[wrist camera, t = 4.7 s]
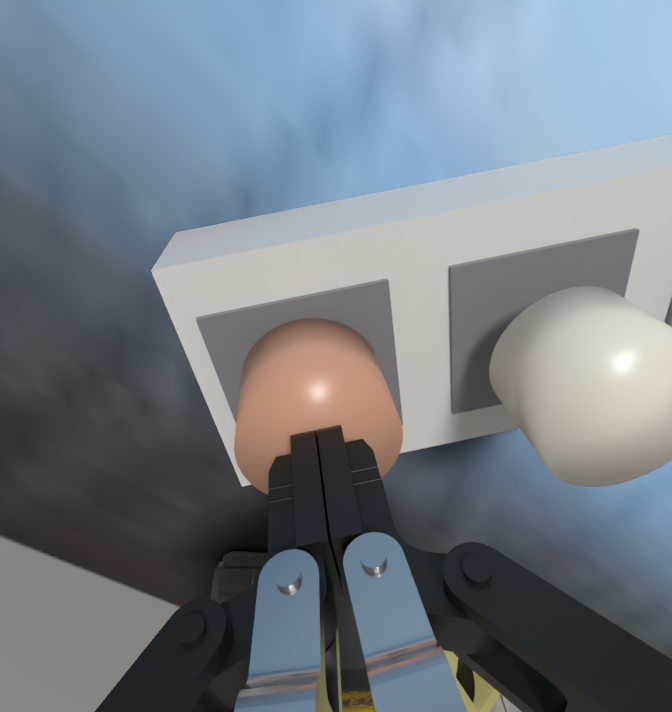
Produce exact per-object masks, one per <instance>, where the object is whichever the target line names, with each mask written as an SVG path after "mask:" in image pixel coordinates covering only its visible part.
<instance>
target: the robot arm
mask: <svg viewBox="0 0 672 712" xmlns="http://www.w3.org/2000/svg"><path fill="white" fill-rule="evenodd" d="M317 435H318V438H317ZM290 440H291V454H287V455H283V456H278V457H276V458H275V460H274V462H273V464H272V466H271V468H270V470H269V472H268V489H269V491H268V502H269V505H268V555H267V561H266V564H265V566H264V567H263V569H262V571H261V573H260V576H259V577H258V579H257V580H256V581H255V582H254V583H253V584H252V585H251V586H250V587H248V588H247V589H246V590H244V591H243V592H241V593H239V594H237V595H236V596H234V597H232V598H230V599H229V600H227V601H225V602H223V603H222V604H219V603H218V602H216V601H214V600H212V599H208V598H200V599H195V600H192V601H190V602H188V603H186V604H185V605H183V606H182V607H180V608H179V609H178V610H177V611H176V612H175V613H174V614H173V615H172V616H171V617H170V619H169V620H168V621H167V623H166V624H165V625H164V626H163V628H162V629H161V630H160V631H159V633H158V634H157V635H156V636H155V637H154V639H153V640H152V641H151V642H150V644H149V645H148V646H147V647H146V649H145V650H144V651H143V652H142V653H141V655H140V656H139V657H138V659H137V660H136V661H135V662H134V663H133V665H132V666H131V667H130V669H129V670H128V671H127V672H126V673H125V675H124V676H123V677H122V678H121V680H120V681H119V682H118V683H117V685H116V686H115V687H114V688H113V690H112V691H111V692H110V693H109V694H108V696H107V697H106V698H105V700H104V701H103V702H102V703H101V705H100V706H99V707H98V708H97V709H96V711H95V712H342V693H341V673H340V654H339V634H338V627H337V625H338V622H337V612H336V604H335V597H338V596H343V595H344V593H343V586H342V581H343V584H344V588H345V591H346V594H350V598H351V602H352V607H353V611H354V615H355V620H356V624H357V628H358V633H359V637H360V641H361V646H362V650H363V655H364V659H365V664H366V670H367V675H368V679H369V684H370V688H371V693H372V697H373V701H374V706H375V710H376V712H467V710H466V707H465V705H464V702H463V699H462V697H461V694H460V691H459V689H458V686H457V683H456V681H455V678H454V675H453V673H452V670H451V667H450V665H449V662H448V660H447V657H446V655H445V653H444V651H443V650H445V651H451V652H454V654H455V655H456V656H457V657H458V658H459V659H460V660H461V661H462V662H464V663H465V664H466V665H467V666H468V667H470V668H471V669H472V670H473V671H474V672H476V673H477V674H478V675H479V676H480V677H481V678H483V679H484V680H485V681H486V682H487V683H489V684H490V685H491V686H492V687H493V688H494V689H496V690H497V691H498V692H499V693H500V694H502V695H503V696H504V697H505V698H506V699H507V700H509V701H510V702H511V703H512V704H513V705H515V706H516V707H517V708H518V709H519V710H520V711H522V712H672V659H670V658H668V657H667V656H665V655H664V654H662V653H660V652H659V651H657V650H656V649H654V648H652V647H651V646H649V645H648V644H646V643H644V642H643V641H641V640H640V639H638V638H636V637H635V636H633V635H631V634H630V633H628V632H627V631H625V630H623V629H622V628H620V627H619V626H617V625H615V624H614V623H612V622H611V621H609V620H607V619H606V618H604V617H603V616H601V615H599V614H598V613H596V612H595V611H593V610H591V609H590V608H588V607H586V606H585V605H583V604H582V603H580V602H578V601H577V600H575V599H574V598H572V597H570V596H569V595H567V594H566V593H564V592H562V591H561V590H559V589H558V588H556V587H554V586H553V585H551V584H550V583H548V582H546V581H545V580H543V579H541V578H540V577H538V576H537V575H535V574H533V573H532V572H530V571H529V570H527V569H525V568H524V567H522V566H521V565H519V564H517V563H516V562H514V561H513V560H511V559H509V558H508V557H506V556H505V555H503V554H501V553H500V552H498V551H496V550H495V549H493V548H491V547H489V546H487V545H485V544H481V543H476V542H468V543H463V544H460V545H458V546H456V547H454V548H453V549H452V550H451V551H450V552H449V553H448V554H443V553H434V552H426V551H421V550H418V549H415V548H413V547H411V546H410V545H408V544H407V543H406V542H404V541H403V540H402V539H401V537H400V536H399V535H398V533H397V531H396V529H395V527H394V523H393V520H392V516H391V512H390V509H389V505H388V502H387V498H386V494H385V491H384V487H383V483H382V480H381V476H380V473H379V469H378V465H377V462H376V458H375V454H374V451H373V449H372V448H371V447H370V446H369V445H368V444H367V443H366V442H365V441H364V440H363V439H359V440H354V441H349V442H345V441H344V436H343V431H342V426H341V425H337V426H332V427H327V428H322V429H317V434H316V431H315V430H313V431H308V432H304V433H299V434H294V435H291V437H290ZM341 577H342V579H341Z"/></svg>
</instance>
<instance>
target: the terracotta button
mask: <svg viewBox="0 0 672 712" xmlns="http://www.w3.org/2000/svg"><path fill="white" fill-rule="evenodd" d="M337 425H341V426H342V431H343V436H344V441H345V442H349V441H354V440H359V439H363V440H364V441H365V442H366V443H367V444H368V445H369V446H370V447H371V448H372V449H373V451H374V454H375V458H376V462H377V465H378V469H379V473H380V476H381V478H382V477H383V476H385V474H386V473H387V472H388V471H389V470H390V469H391V467H392V466H393V464H394V463H395V461H396V459H397V457H398V456H399V453H400V450H401V447H402V441H403V429H402V424H401V420H400V418H399V415H398V413H397V410H396V407H395V405H394V402H393V399H392V397H391V394H390V392H389V389H388V386H387V384H386V381H385V378H384V376H383V373H382V371H381V368H380V365H379V363H378V360H377V357H376V355H375V352H374V350H373V349H372V347H371V345H370V344H369V343H368V341H367V340H366V339H365V338H364V337H363V336H362V335H361V334H360V333H358V332H357V331H355V330H354V329H353V328H351V327H349V326H347V325H345V324H342V323H339V322H336V321H332V320H328V319H319V318H310V319H300V320H295V321H291V322H288V323H285V324H283V325H280V326H278V327H276V328H274V329H272V330H270V331H269V332H268V333H266V334H265V335H263V336H262V337H261V338H260V339H259V340H258V341H257V342H256V343H255V344H254V346H253V347H252V348H251V349H250V351H249V353H248V354H247V356H246V359H245V361H244V364H243V368H242V374H241V383H240V393H239V403H238V412H237V422H236V431H235V441H234V453H235V459H236V462H237V465H238V467H239V469H240V471H241V473H242V474H243V475H244V477H245V478H246V479H247V480H248V481H249V482H250V483H251V484H252V485H253V486H254V487H256V488H257V489H258V490H260V491H262V492H263V493H265V494H267V495H268V491H269V489H268V472H269V470H270V468H271V466H272V464H273V462H274V460H275V458H276V457H278V456H283V455H287V454H291V440H290V437H291V435H294V434H299V433H304V432H308V431H313V430H315V431H316V434H317V429H322V428H327V427H332V426H337ZM317 438H318V435H317Z"/></svg>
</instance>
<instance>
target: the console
mask: <svg viewBox="0 0 672 712" xmlns="http://www.w3.org/2000/svg"><path fill="white" fill-rule="evenodd" d="M151 272H152V274H153V277H154V279H155V281H156V284H157V286H158V288H159V291H160V293H161V296H162V298H163V300H164V303H165V305H166V307H167V310H168V312H169V315H170V317H171V319H172V322H173V324H174V326H175V329H176V331H177V334H178V336H179V338H180V341H181V343H182V345H183V348H184V350H185V353H186V355H187V357H188V360H189V362H190V364H191V367H192V369H193V372H194V374H195V376H196V379H197V381H198V383H199V386H200V388H201V391H202V393H203V395H204V398H205V400H206V402H207V405H208V407H209V410H210V412H211V414H212V417H213V419H214V421H215V424H216V426H217V428H218V431H219V433H220V436H221V438H222V440H223V443H224V445H225V447H226V450H227V452H228V455H229V457H230V459H231V462H232V464H233V466H234V469H235V471H236V474H237V476H238V478H239V481H240V483H241V485H242V486H247V485H252V484H251V483H250V482H249V481H248V480H247V479H246V478H245V477H244V475H243V474H242V473H241V471H240V469H239V467H238V465H237V462H236V459H235V453H234V441H235V431H236V422H237V412H238V403H239V393H240V383H241V374H242V368H243V364H244V361H245V359H246V356H247V354H248V353H249V351H250V349H251V348H252V347H253V346H254V344H255V343H256V342H257V341H258V340H259V339H260V338H261V337H262V336H263V335H265V334H266V333H268V332H269V331H270V330H272V329H274V328H276V327H278V326H280V325H283V324H285V323H288V322H291V321H295V320H300V319H310V318H319V319H328V320H332V321H336V322H339V323H342V324H345V325H347V326H349V327H351V328H353V329H354V330H355V331H357V332H358V333H360V334H361V335H362V336H363V337H364V338H365V339H366V340H367V341H368V343H369V344H370V345H371V347H372V349H373V350H374V352H375V355H376V357H377V360H378V363H379V365H380V368H381V371H382V373H383V376H384V378H385V381H386V384H387V386H388V389H389V392H390V394H391V397H392V399H393V402H394V405H395V407H396V410H397V413H398V415H399V418H400V420H401V424H402V429H403V441H402V447H401V450H400V453H404V452H409V451H414V450H418V449H423V448H428V447H433V446H437V445H442V444H447V443H452V442H456V441H461V440H466V439H471V438H476V437H480V436H485V435H490V434H495V433H499V432H504V431H509V430H514V429H518V428H520V427H519V426H518V424H517V423H516V422H515V420H514V419H513V418H512V416H511V415H510V413H509V412H508V411H507V409H506V408H505V406H504V405H503V404H502V402H501V401H500V399H499V398H498V397H497V395H496V394H495V392H494V390H493V388H492V386H491V382H490V377H489V367H490V360H491V356H492V353H493V350H494V348H495V346H496V344H497V342H498V340H499V338H500V336H501V335H502V334H503V332H504V331H505V329H506V328H507V327H508V326H509V325H510V323H511V322H512V321H513V320H514V319H515V318H516V317H517V316H518V315H519V314H520V313H521V312H523V311H524V310H525V309H527V308H528V307H529V306H530V305H532V304H534V303H535V302H537V301H538V300H540V299H542V298H544V297H546V296H548V295H550V294H552V293H555V292H558V291H560V290H564V289H567V288H571V287H578V286H596V287H602V288H606V289H609V290H611V291H613V292H615V293H617V294H619V295H620V296H622V297H623V298H625V299H627V300H628V301H630V302H632V303H633V304H635V305H637V306H638V307H640V308H641V309H643V310H645V311H646V312H648V313H650V314H651V315H653V316H655V317H656V318H658V319H659V320H661V321H663V322H664V323H666V324H668V325H669V326H671V327H672V134H669V135H664V136H659V137H654V138H649V139H644V140H639V141H634V142H629V143H624V144H619V145H614V146H609V147H604V148H599V149H594V150H589V151H584V152H579V153H574V154H568V155H563V156H558V157H553V158H548V159H543V160H538V161H533V162H528V163H523V164H518V165H513V166H508V167H503V168H498V169H493V170H488V171H483V172H478V173H473V174H468V175H463V176H458V177H453V178H448V179H443V180H438V181H432V182H427V183H422V184H417V185H412V186H407V187H402V188H397V189H392V190H387V191H382V192H377V193H372V194H367V195H362V196H357V197H352V198H347V199H342V200H337V201H332V202H327V203H322V204H317V205H312V206H307V207H301V208H296V209H291V210H286V211H281V212H276V213H271V214H266V215H261V216H256V217H251V218H246V219H241V220H236V221H231V222H226V223H221V224H216V225H211V226H206V227H201V228H196V229H191V230H186V231H181V232H176V233H175V234H174V236H173V237H172V239H171V240H170V242H169V243H168V245H167V247H166V248H165V250H164V251H163V253H162V254H161V256H160V257H159V259H158V261H157V262H156V264H155V265H154V267H153V268H152V270H151Z"/></svg>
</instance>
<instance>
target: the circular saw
mask: <svg viewBox="0 0 672 712" xmlns="http://www.w3.org/2000/svg"><path fill="white" fill-rule="evenodd" d="M267 555H268V553H261V552H241V551H232V552H229V553H227V554H225V555H224V557H223V560H222V562H219V565H218V566H217V567H216V569H215V570H214V577H213V584H212V591H211V598H210V599H212V600H214V601H216V602H218V603H219V604H222V603H223V602H225V601H227V600H229V599H230V598H232V597H234V596H236V595H237V594H239V593H241V592H243V591H244V590H246V589H247V588H248V587H250V586H251V585H252V584H253V583H254V582H255V581H256V580H257V579H258V577H259V576H260V573H261V571H262V569H263V567H264V566H265V564H266V561H267ZM341 579H342V577H341ZM342 586H343V593H344V595H343V596H338V597H335V604H336V612H337V622H338V625H337V627H338V634H339V654H340V673H341V693H342V712H376V710H375V706H374V701H373V697H372V693H371V688H370V684H369V679H368V675H367V670H366V664H365V659H364V655H363V650H362V646H361V641H360V637H359V633H358V628H357V624H356V620H355V615H354V611H353V607H352V602H351V598H350V594H346V591H345V588H344V584H343V581H342ZM443 651H444V653H445V655H446V657H447V660H448V662H449V665H450V667H451V670H452V673H453V675H454V678H455V681H456V683H457V686H458V689H459V691H460V694H461V697H462V699H463V702H464V705H465V707H466V710H467V712H522V711H520V710H519V709H518V708H517V707H516V706H515V705H513V704H512V703H511V702H510V701H509V700H507V699H506V698H505V697H504V696H503V695H502V694H500V693H499V692H498V691H497V690H496V689H494V688H493V687H492V686H491V685H490V684H489V683H487V682H486V681H485V680H484V679H483V678H481V677H480V676H479V675H478V674H477V673H476V672H474V671H473V670H472V669H471V668H470V667H468V666H467V665H466V664H465V663H464V662H462V661H461V660H460V659H459V658H458V657H457V656H456V655H455V654H454V652H451V651H445V650H443Z"/></svg>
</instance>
